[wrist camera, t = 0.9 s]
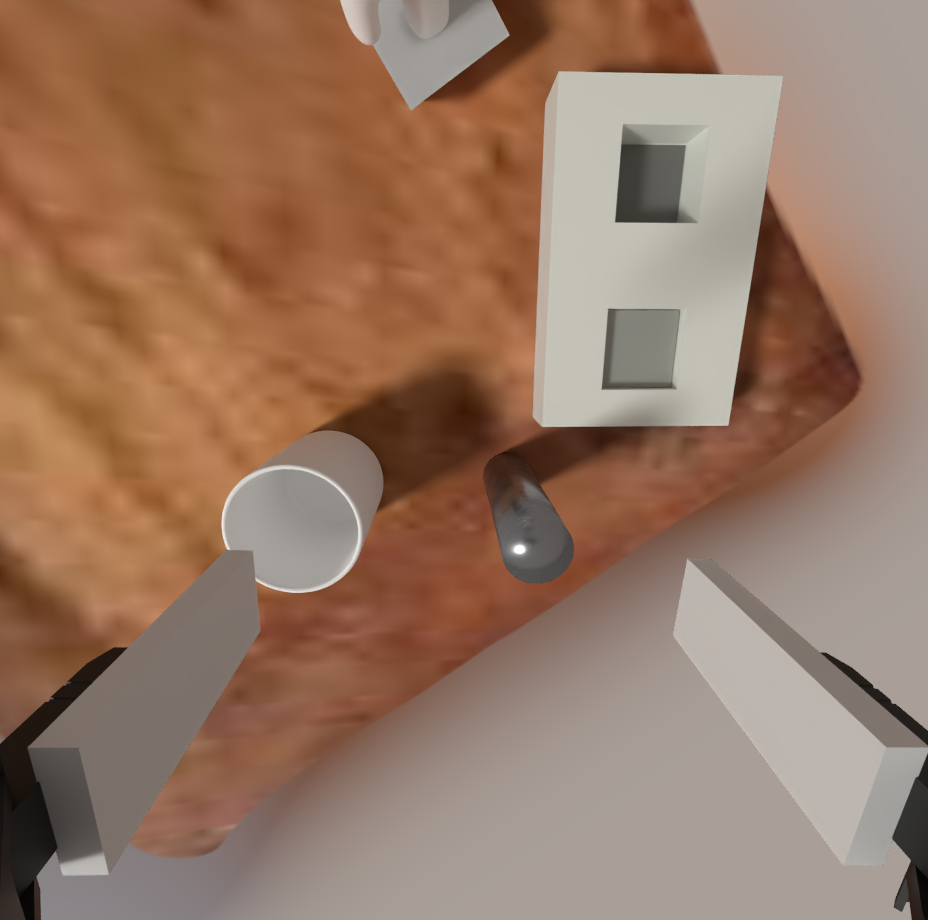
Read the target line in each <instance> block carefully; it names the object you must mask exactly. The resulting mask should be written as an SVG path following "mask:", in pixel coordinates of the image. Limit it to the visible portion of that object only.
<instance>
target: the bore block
mask: <svg viewBox="0 0 928 920" xmlns="http://www.w3.org/2000/svg"><path fill="white" fill-rule="evenodd" d="M782 82H783V76H771V75H720V74H666V73H613V72H558V74H557V77H556V79H555V81H554V84H553V86H552V89H551V91H550V93H549V96H548V98H547V100H546V103H545V122H544V147H543V171H542V196H541V221H540V246H539V270H538V295H537V320H536V345H535V370H534V394H533V418H534V419H535V420H536V421H537V422H538V423H539V424H540V425H541V426H542V427H600V426H728V424H729V418H730V411H731V405H732V399H733V392H734V386H735V380H736V373H737V367H738V361H739V354H740V348H741V342H742V335H743V329H744V323H745V316H746V310H747V304H748V297H749V291H750V285H751V278H752V272H753V266H754V259H755V253H756V247H757V240H758V234H759V228H760V221H761V215H762V209H763V202H764V196H765V190H766V183H767V177H768V170H769V164H770V158H771V151H772V145H773V139H774V133H775V126H776V120H777V113H778V107H779V101H780V95H781V88H782Z"/></svg>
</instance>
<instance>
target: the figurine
mask: <svg viewBox="0 0 928 920" xmlns="http://www.w3.org/2000/svg"><path fill="white" fill-rule="evenodd" d="M340 2H341V5H342V8H343V11H344V14H345V17H346V20H347V22H348V24H349V26H350V28H351V30H352V32H353V33H354V35H355V36H356V37H357V38H358V39H359V40H360V41H361V42H362V43H364V44H366V45H373V46H374V48H375V50H376V51H377V53H378V55H379V56H380V58H381V60H382V62H383V63H384V65H385V67H386V69H387V70H388V72H389V74H390V75H391V77H392V79H393V81H394V82H395V84H396V86H397V87H398V89H399V91H400V93H401V94H402V96H403V98H404V99H405V101H406V103H407V105H408V106H409V108H410V110H412V109H413V108H415V107H416V106H417V105H419V104H420V103H421V102H423V101H424V100H425V99H427V98H428V97H429V96H430V95H432V94H433V93H434V92H436V91H437V90H438V89H440V88H441V87H442V86H444V85H445V84H446V83H448V82H449V81H450V80H452V79H453V78H454V77H455V76H457V75H458V74H459V73H461V72H462V71H463V70H465V69H466V68H467V67H469V66H470V65H471V64H473V63H474V62H475V61H477V60H478V59H479V58H481V57H482V56H483V55H484V54H486V53H487V52H488V51H490V50H491V49H492V48H494V47H495V46H496V45H498V44H499V43H500V42H502V41H503V40H504V39H506V38H507V37H508V36H509V33H508V31H507V29H506V27H505V25H504V23H503V21H502V19H501V17H500V15H499V13H498V11H497V9H496V7H495V5H494V3H493V1H492V0H340Z"/></svg>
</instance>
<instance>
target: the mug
mask: <svg viewBox="0 0 928 920" xmlns="http://www.w3.org/2000/svg"><path fill="white" fill-rule="evenodd" d="M383 485H384V484H383V474H382V469H381V466H380V464H379V461H378V459H377V458H376V456H375V454H374V453H373V452H372V451H371V449H370V448H369V447H368V446H367V445H366V444H365V443H363V442H362V441H360V440H359V439H357V438H356V437H354V436H352V435H349V434H347V433H343V432H339V431H318V432H314V433H310V434H308V435H305V436H303V437H301V438H300V439H298V440H296V441H295V442H293V443H292V444H290V445H289V446H288V447H286V448H285V449H283V450H282V451H281V452H279V453H278V454H277V455H275V456H274V457H272V458H271V459H270V460H268V461H267V462H265V463H264V464H263V465H261V466H260V467H258V468H257V469H256V470H254V471H253V472H252V473H250V474H249V475H247V476H246V477H245V478H244V479H242V480H241V481H240V482H239V483H238V484H237V485H236V486H235V487H234V489H233V490H232V491H231V493H230V494H229V496H228V498H227V500H226V502H225V506H224V509H223V514H222V533H223V538H224V542H225V545H226V547H227V549H228V550H249V551H253V558H254V568H255V579H256V581H257V582H259V583H261V584H263V585H265V586H267V587H270V588H273V589H276V590H280V591H284V592H292V593H304V592H312V591H316V590H320V589H322V588H325V587H328V586H330V585H332V584H333V583H335V582H337V581H338V580H340V579H341V578H342V577H343V576H345V575H346V574H347V573H348V572H349V570H350V569H351V568H352V567H353V565H354V564H355V562H356V560H357V559H358V556H359V554H360V551H361V549H362V546H363V544H364V541H365V539H366V536H367V534H368V531H369V528H370V526H371V523H372V521H373V518H374V516H375V513H376V511H377V508H378V506H379V503H380V500H381V497H382V493H383Z"/></svg>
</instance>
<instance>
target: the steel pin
mask: <svg viewBox="0 0 928 920" xmlns="http://www.w3.org/2000/svg"><path fill="white" fill-rule="evenodd" d="M483 479H484V483H485V487H486V491H487V496H488V500H489V504H490V508H491V512H492V516H493V520H494V524H495V528H496V533H497V537H498V541H499V545H500V549H501V553H502V557H503V561H504V564H505V566H506V568H507V569H508V571H509V572H510V573H511V574H512V575H513V576H514V577H516V578H517V579H519V580H521V581H524V582H527V583H535V584H538V583H545V582H548V581H551V580H553V579H555V578H557V577H559V576H560V575H561V574H562V573H563V572H564V571H565V570H566V569H567V568H568V566H569V565H570V563H571V561H572V558H573V553H574V544H573V540H572V537H571V535H570V533H569V532H568V530H567V528H566V527H565V525H564V524H563V522H562V520H561V519H560V517H559V515H558V514H557V512H556V510H555V509H554V507H553V505H552V504H551V502H550V500H549V499H548V497H547V495H546V494H545V492H544V490H543V489H542V487H541V485H540V484H539V482H538V480H537V479H536V477H535V475H534V474H533V472H532V471H531V469H530V467H529V466H528V464H527V462H526V461H525V460H524V459H523V458H522V457H520V456H519V455H517V454H514V453H501V454H498V455H496V456H494V457H493V458H492V459H491V460H490V461H489V462H488V463H487V465H486V467H485V469H484V474H483Z"/></svg>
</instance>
